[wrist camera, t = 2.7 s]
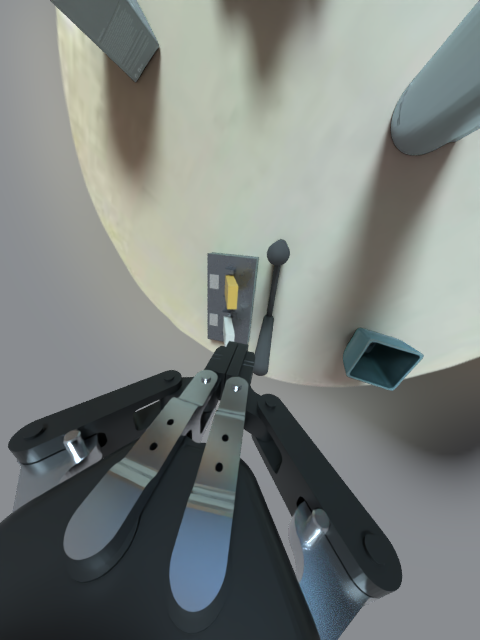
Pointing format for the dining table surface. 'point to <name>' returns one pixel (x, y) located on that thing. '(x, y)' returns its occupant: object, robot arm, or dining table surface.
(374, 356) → the flower pot
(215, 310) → the strip
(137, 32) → the skincare box
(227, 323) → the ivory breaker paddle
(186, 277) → the dining table surface
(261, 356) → the cable posts
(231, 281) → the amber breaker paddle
